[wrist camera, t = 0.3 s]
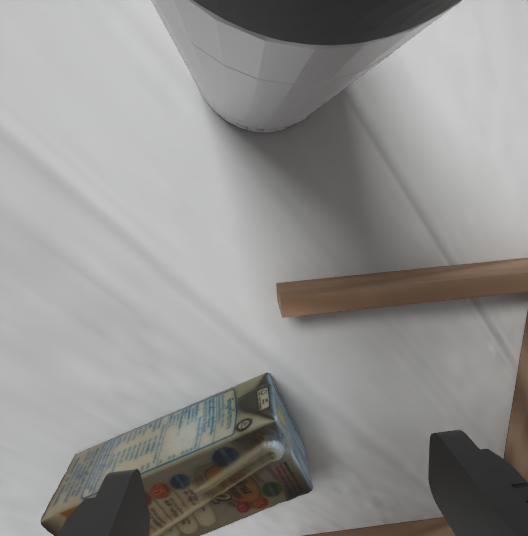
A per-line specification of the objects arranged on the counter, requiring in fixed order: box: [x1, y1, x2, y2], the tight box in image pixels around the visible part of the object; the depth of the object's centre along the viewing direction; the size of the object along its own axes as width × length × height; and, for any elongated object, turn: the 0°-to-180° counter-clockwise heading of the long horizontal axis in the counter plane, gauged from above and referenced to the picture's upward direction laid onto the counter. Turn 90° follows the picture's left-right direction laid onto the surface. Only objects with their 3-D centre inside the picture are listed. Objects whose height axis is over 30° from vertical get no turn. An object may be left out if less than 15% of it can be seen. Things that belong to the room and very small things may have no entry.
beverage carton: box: [41, 373, 313, 536], centre depth 27 cm, size 8×19×7 cm, turn 114°
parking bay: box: [276, 258, 528, 536], centre depth 29 cm, size 29×22×3 cm
